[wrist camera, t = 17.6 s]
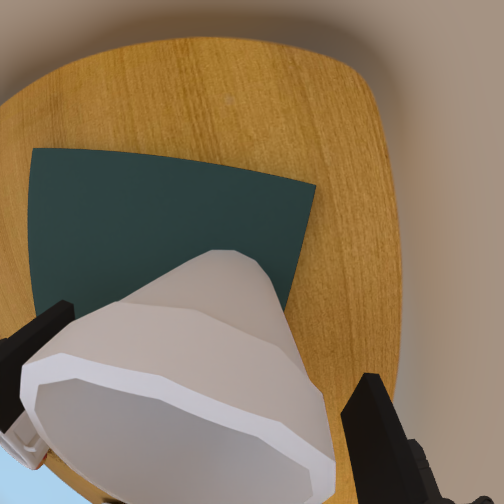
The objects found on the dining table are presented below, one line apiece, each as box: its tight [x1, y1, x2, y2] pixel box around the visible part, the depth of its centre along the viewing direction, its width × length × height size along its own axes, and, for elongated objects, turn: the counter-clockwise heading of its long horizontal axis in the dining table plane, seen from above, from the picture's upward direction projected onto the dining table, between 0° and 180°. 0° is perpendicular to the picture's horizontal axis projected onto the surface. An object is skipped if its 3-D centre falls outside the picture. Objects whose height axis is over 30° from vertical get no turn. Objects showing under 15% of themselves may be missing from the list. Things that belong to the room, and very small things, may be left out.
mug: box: [0, 410, 50, 470], centre depth 22 cm, size 14×11×10 cm
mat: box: [28, 148, 316, 320], centre depth 18 cm, size 22×16×1 cm
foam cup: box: [20, 250, 336, 504], centre depth 11 cm, size 10×9×13 cm
